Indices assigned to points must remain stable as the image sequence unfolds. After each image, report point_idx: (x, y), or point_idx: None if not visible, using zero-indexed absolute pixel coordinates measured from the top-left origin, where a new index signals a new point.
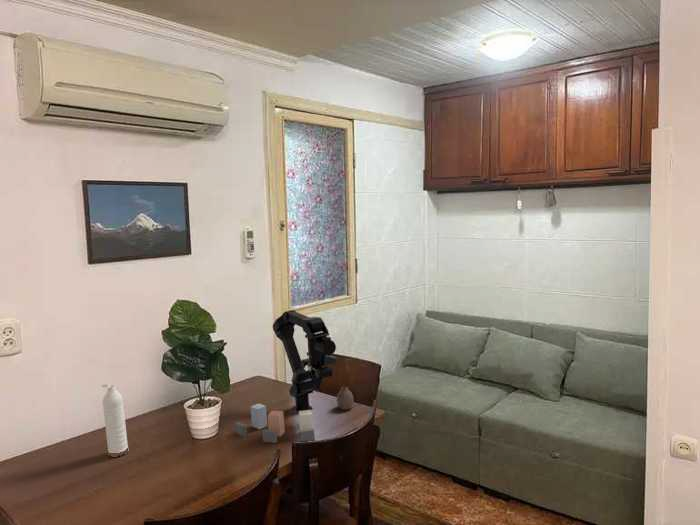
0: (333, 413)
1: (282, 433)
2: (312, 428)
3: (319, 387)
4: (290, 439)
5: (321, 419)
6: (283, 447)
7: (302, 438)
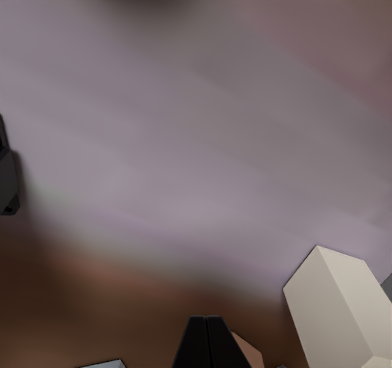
0: (177, 7)
1: (248, 346)
2: (381, 288)
3: (229, 333)
4: None
5: (217, 140)
6: None
7: None
